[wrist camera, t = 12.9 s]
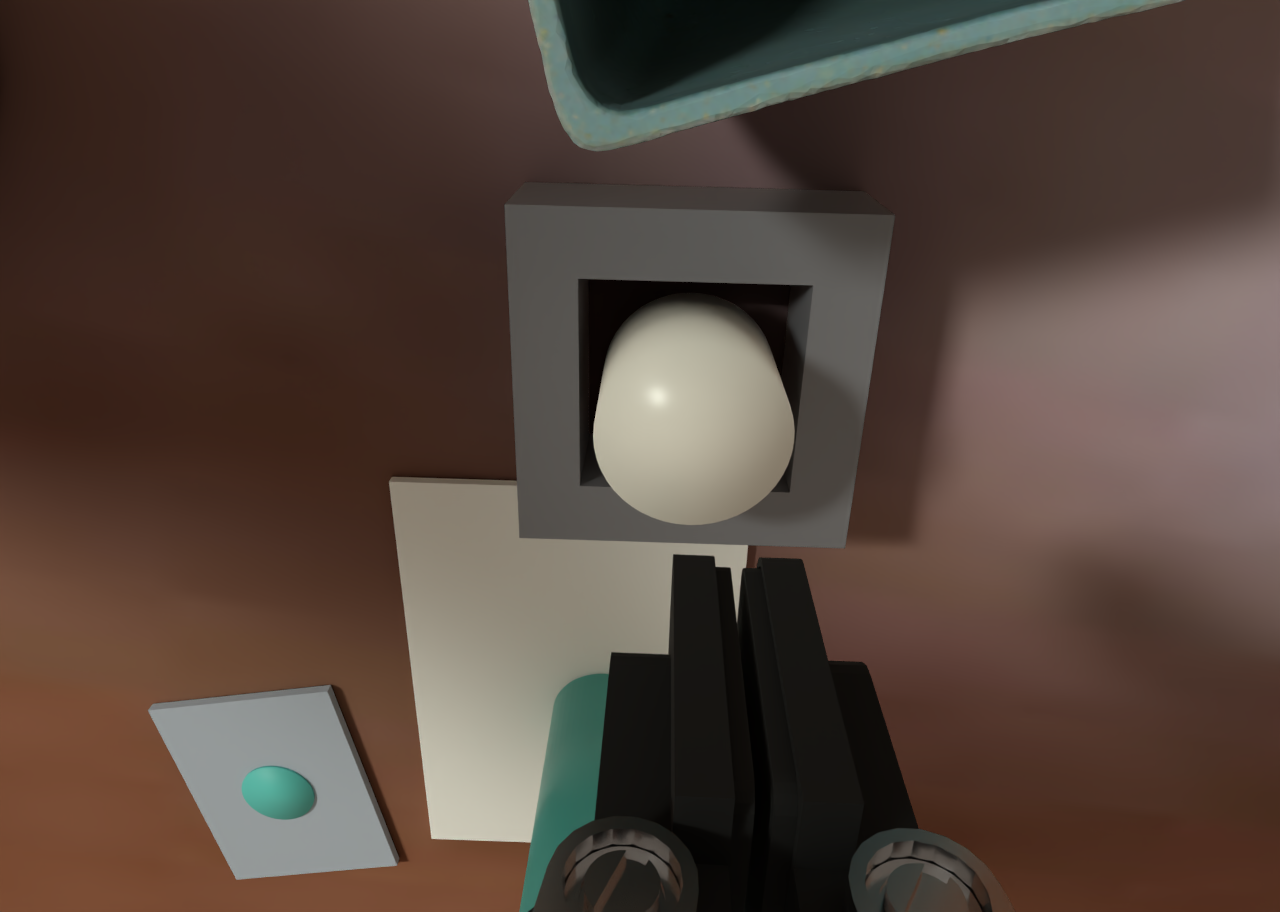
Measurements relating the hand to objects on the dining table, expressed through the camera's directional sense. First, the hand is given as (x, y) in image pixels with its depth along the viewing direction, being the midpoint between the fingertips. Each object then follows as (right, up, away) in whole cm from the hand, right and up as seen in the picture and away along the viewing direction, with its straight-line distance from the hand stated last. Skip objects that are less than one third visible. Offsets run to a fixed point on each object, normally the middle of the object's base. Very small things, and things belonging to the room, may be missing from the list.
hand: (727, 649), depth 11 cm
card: (-13, -9, +18) cm, 24 cm away
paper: (-3, -4, +15) cm, 16 cm away
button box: (0, +5, +11) cm, 12 cm away
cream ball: (0, +4, +9) cm, 10 cm away
